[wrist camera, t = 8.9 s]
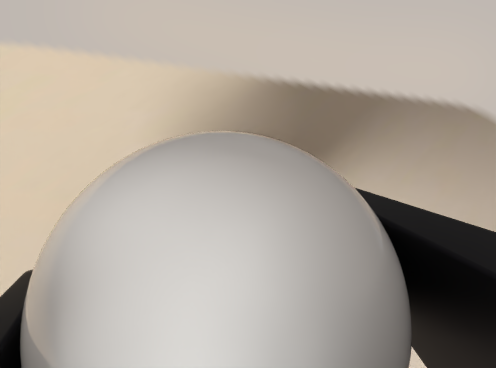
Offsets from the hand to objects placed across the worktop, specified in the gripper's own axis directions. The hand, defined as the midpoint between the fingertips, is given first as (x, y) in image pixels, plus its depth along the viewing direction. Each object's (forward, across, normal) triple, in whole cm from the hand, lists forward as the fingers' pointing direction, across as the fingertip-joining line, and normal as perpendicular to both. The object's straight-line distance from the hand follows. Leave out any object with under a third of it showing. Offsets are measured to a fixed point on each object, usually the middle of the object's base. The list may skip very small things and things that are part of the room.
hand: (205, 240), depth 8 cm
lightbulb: (+4, 0, +6) cm, 7 cm away
